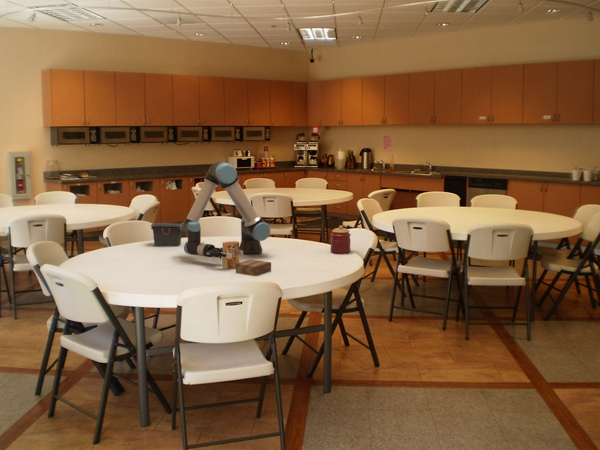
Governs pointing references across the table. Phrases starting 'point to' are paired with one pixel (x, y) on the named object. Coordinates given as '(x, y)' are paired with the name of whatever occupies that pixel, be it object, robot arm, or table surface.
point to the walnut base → (253, 267)
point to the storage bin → (166, 234)
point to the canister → (340, 241)
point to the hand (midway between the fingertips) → (237, 254)
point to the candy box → (233, 249)
